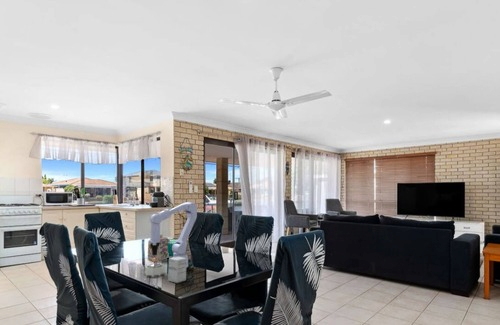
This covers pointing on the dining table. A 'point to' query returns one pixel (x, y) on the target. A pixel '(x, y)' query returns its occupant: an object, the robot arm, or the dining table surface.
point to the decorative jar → (159, 249)
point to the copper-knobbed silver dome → (154, 263)
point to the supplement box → (177, 269)
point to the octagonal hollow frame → (154, 271)
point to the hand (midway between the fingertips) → (154, 254)
